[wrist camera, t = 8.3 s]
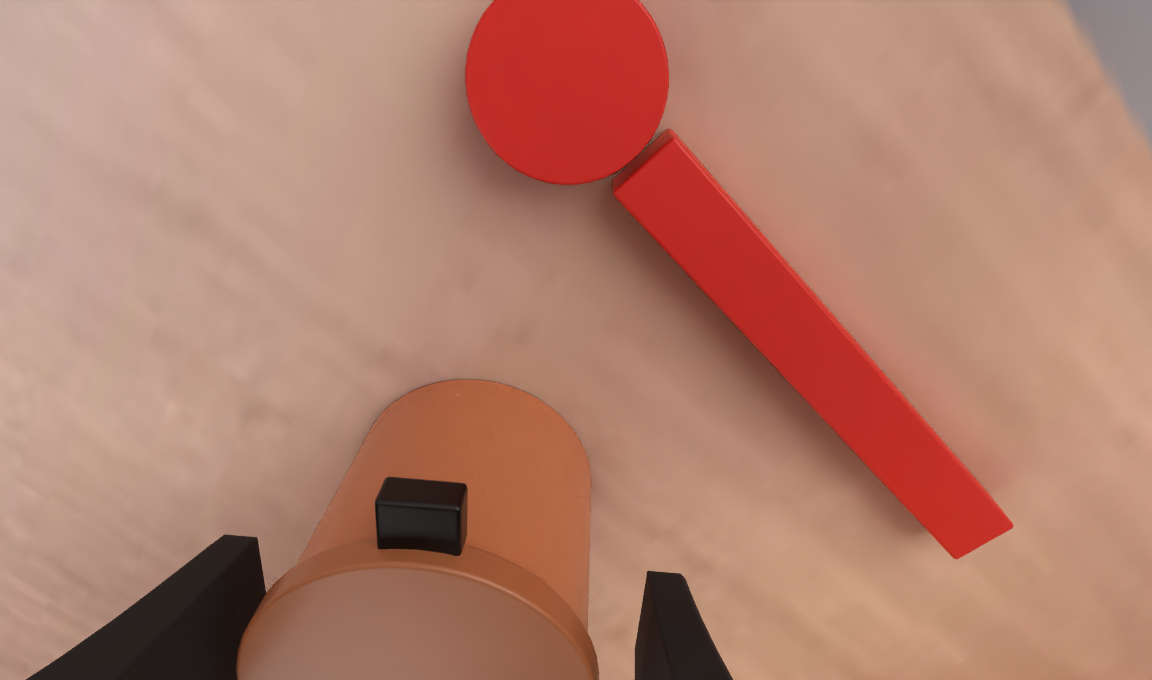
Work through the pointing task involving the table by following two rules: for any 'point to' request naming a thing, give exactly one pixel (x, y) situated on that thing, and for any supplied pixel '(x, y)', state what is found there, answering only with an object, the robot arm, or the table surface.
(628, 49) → the red spoon
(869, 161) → the table surface
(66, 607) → the table surface
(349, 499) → the copper pot
